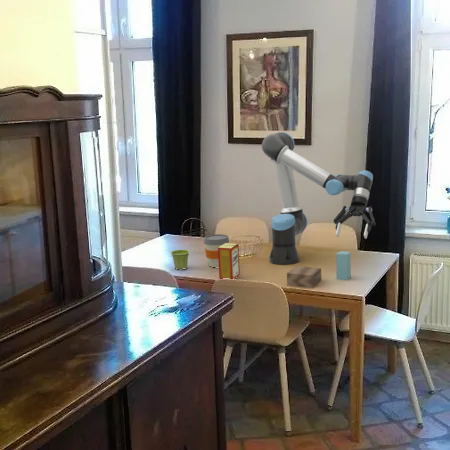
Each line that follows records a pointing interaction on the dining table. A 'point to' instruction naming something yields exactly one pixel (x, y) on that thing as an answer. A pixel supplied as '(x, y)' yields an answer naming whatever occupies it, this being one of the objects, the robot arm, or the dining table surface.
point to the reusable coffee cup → (214, 247)
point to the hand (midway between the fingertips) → (350, 236)
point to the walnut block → (304, 276)
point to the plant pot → (180, 258)
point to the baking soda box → (228, 260)
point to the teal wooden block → (343, 265)
